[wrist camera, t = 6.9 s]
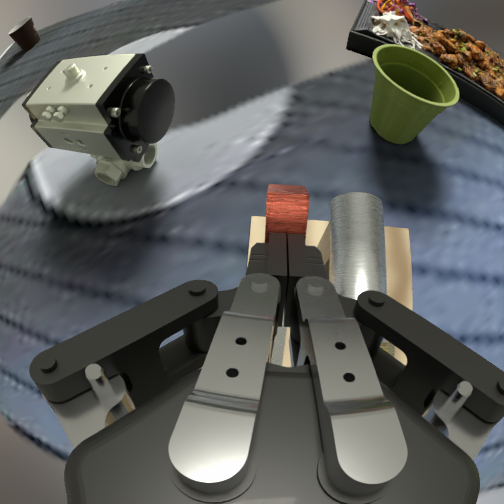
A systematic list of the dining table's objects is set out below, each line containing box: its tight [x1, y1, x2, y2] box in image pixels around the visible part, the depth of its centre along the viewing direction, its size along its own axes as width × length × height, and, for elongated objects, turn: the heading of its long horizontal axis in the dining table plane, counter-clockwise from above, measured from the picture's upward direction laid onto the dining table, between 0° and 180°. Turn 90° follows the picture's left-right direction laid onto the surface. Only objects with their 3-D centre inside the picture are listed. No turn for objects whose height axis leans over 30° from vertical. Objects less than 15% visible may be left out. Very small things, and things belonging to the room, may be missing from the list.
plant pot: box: [370, 44, 459, 144], centre depth 32 cm, size 12×12×11 cm
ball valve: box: [22, 54, 175, 186], centre depth 29 cm, size 18×8×18 cm, turn 72°
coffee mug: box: [9, 16, 40, 52], centre depth 52 cm, size 12×9×10 cm
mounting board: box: [247, 216, 412, 367], centre depth 28 cm, size 18×30×2 cm, turn 175°
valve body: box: [317, 192, 395, 357], centre depth 22 cm, size 8×26×12 cm, turn 175°
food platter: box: [346, 0, 504, 125], centre depth 39 cm, size 45×25×10 cm, turn 66°
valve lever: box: [265, 184, 310, 366], centre depth 17 cm, size 2×3×16 cm
